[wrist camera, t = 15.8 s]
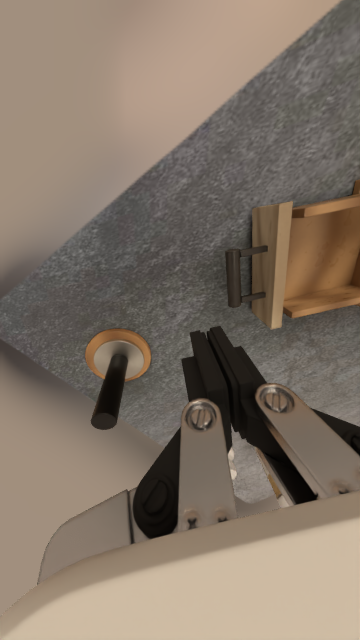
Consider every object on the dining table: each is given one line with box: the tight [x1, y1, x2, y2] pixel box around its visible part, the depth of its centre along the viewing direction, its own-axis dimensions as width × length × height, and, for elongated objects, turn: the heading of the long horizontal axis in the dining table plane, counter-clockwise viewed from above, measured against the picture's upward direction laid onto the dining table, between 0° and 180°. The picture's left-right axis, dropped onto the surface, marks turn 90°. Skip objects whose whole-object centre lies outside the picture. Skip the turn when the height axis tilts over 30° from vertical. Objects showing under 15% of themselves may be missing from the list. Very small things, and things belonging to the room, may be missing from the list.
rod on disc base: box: [91, 339, 144, 430], centre depth 22 cm, size 7×7×10 cm
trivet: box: [85, 329, 151, 381], centre depth 27 cm, size 9×9×1 cm
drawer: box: [225, 194, 360, 329], centre depth 20 cm, size 18×12×5 cm
